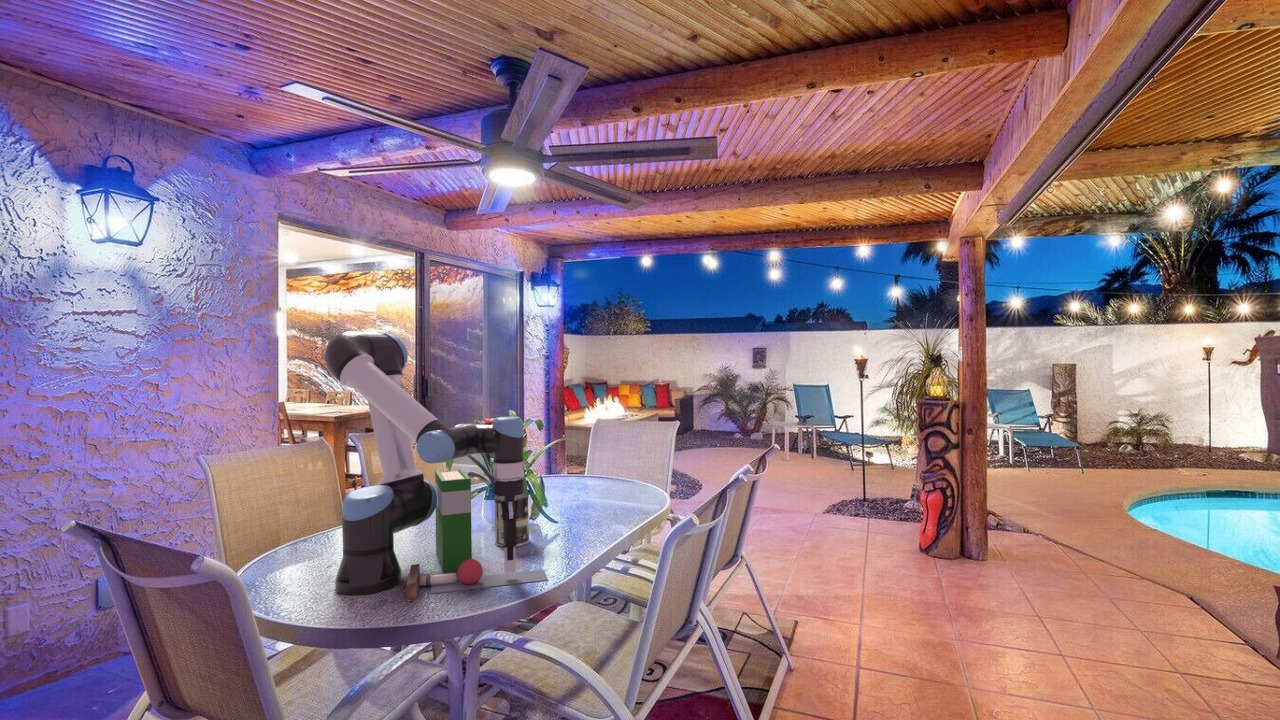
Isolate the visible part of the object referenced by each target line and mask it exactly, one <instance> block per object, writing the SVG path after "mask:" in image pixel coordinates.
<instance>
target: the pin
mask: <svg viewBox="0 0 1280 720" xmlns="http://www.w3.org/2000/svg"><path fill="white" fill-rule="evenodd" d="M456 579H457V572H453V573H452V572H449V573H440V574H426V575H420V582H419V587H429V586H431V585H439V584H450V583H456Z"/></svg>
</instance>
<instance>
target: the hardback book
mask: <svg viewBox="0 0 1280 720" xmlns="http://www.w3.org/2000/svg"><path fill="white" fill-rule="evenodd" d="M471 482H472V479H471V477H470V476H469V475H468V474H467V473H466V472H465V470H463V468H458V469H457V471H456V470H454V471H447V472H446V471H442V472H440V470H439V469H437V470H434V486H435V487H434V488H435V491H436V494H437V505H436V508H435V554H436V557H437V560H438V562H439V565H440V568H441V571H442V574H445V573H451V572H455V571H457V572H458V568H459V566H460V565H461V564H462V563H463V562H464V561H466V560H469V559H473V557H472V556H473V555H472V554H473V553H472V552H473V551H472V550H473V549H472V548H473V547H472V543H473V542H472V483H471Z"/></svg>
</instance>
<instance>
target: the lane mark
mask: <svg viewBox="0 0 1280 720" xmlns="http://www.w3.org/2000/svg"><path fill="white" fill-rule="evenodd" d="M547 581H549V578H548V576H547V573H546V571H545V569H534V570H533V569H532V570H525V571H517V572H510V573H497V574H490V575H482V576H481V578H480V580H479V581H478V582H476V583H475V584H472V585H467V584H464V583H462V582H461V581H460V580H459V578H456V583H450V584H439V585H431V587H430V595H434V594H443V593H451V592H461V591H468V590H477V589H483V588H484V589H485V588H495V587H502V586H503V587H504V586H511V585H512V586H513V585H520V584H531V583H535V582H536V583H539V582H547Z"/></svg>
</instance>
